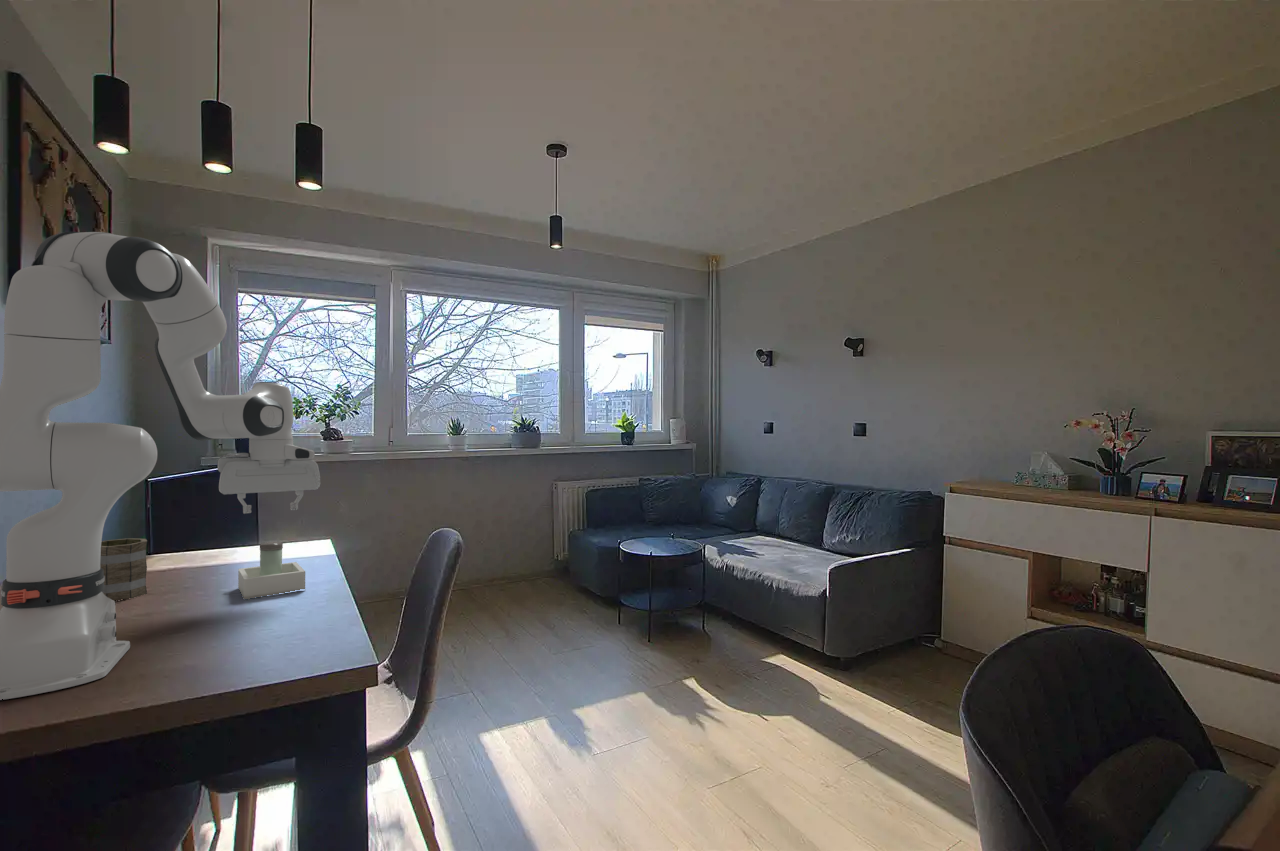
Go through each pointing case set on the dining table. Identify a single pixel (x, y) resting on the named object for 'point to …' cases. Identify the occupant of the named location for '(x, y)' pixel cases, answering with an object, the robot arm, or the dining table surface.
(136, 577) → the mug
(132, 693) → the dining table surface
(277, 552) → the spice jar
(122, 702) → the dining table surface
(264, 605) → the dining table surface
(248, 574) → the bin
